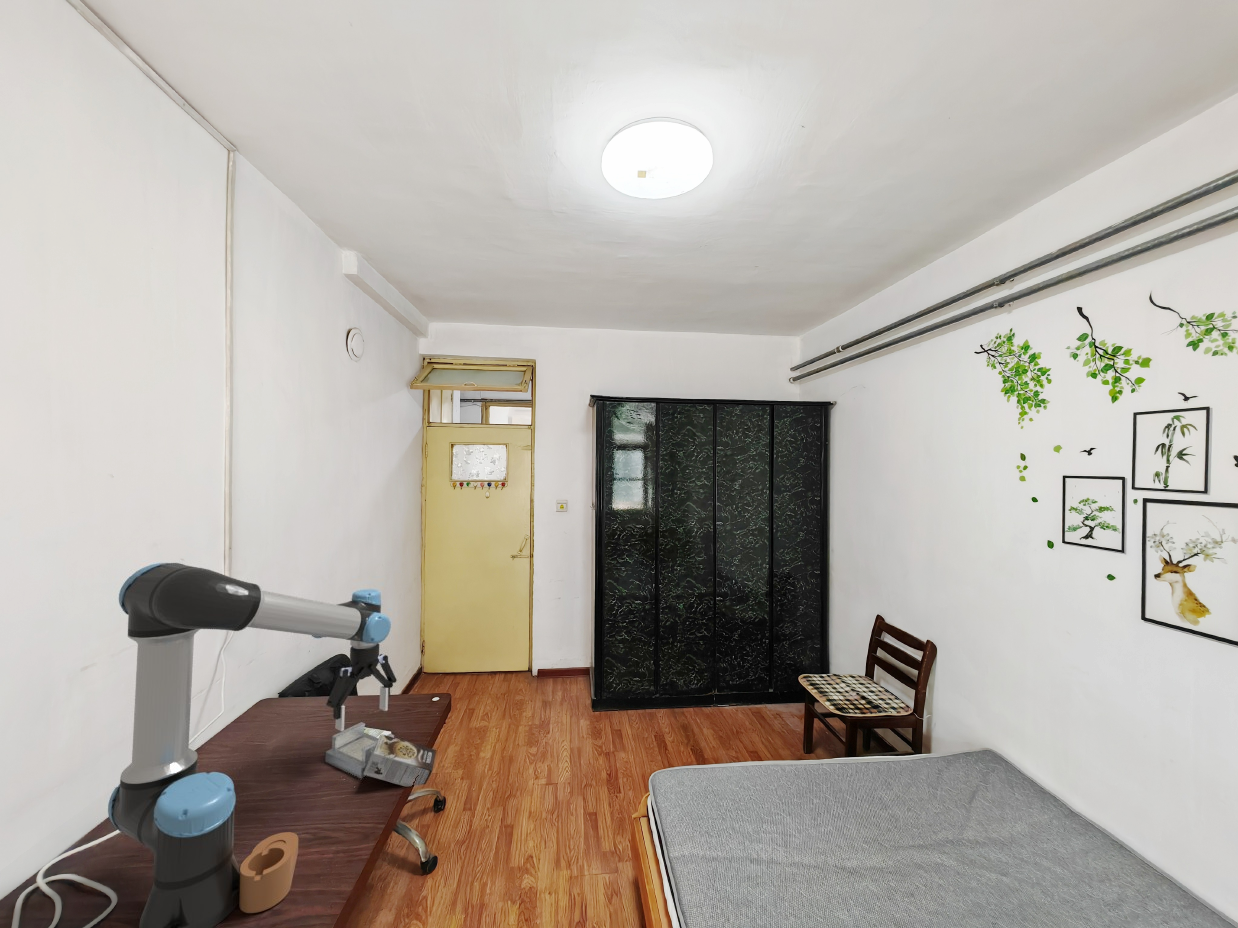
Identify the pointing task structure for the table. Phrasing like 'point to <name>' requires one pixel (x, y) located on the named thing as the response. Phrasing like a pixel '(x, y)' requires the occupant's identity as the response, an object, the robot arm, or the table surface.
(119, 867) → the table surface
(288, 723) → the table surface
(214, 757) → the table surface
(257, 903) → the bracket
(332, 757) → the aluminum channel piece
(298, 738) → the table surface
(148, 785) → the robot arm
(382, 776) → the coffee box
